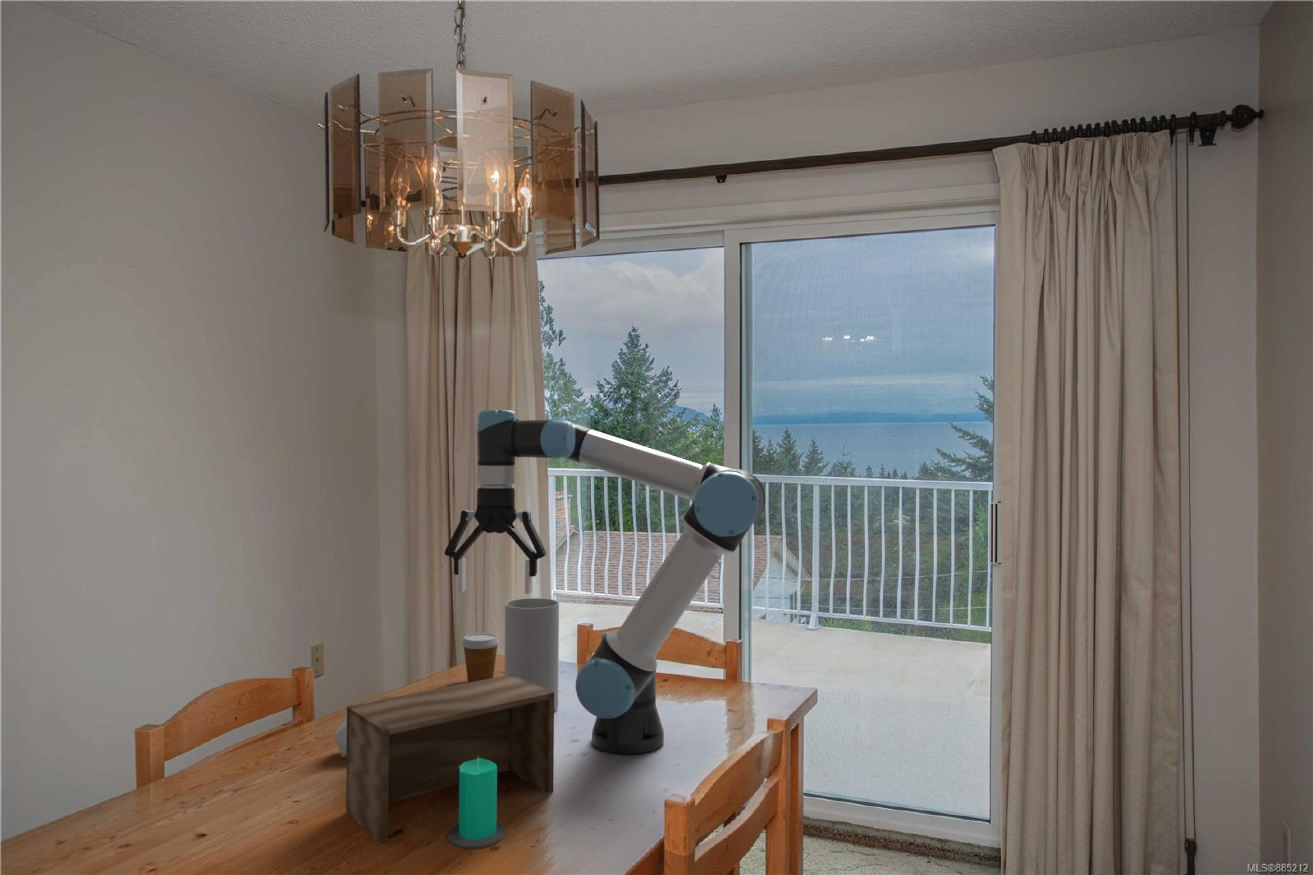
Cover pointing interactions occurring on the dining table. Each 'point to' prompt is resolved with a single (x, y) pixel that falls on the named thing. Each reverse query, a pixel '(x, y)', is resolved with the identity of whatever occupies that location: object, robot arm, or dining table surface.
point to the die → (342, 738)
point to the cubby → (444, 742)
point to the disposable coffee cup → (480, 655)
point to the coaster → (479, 843)
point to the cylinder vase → (533, 642)
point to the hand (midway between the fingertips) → (495, 592)
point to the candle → (477, 799)
